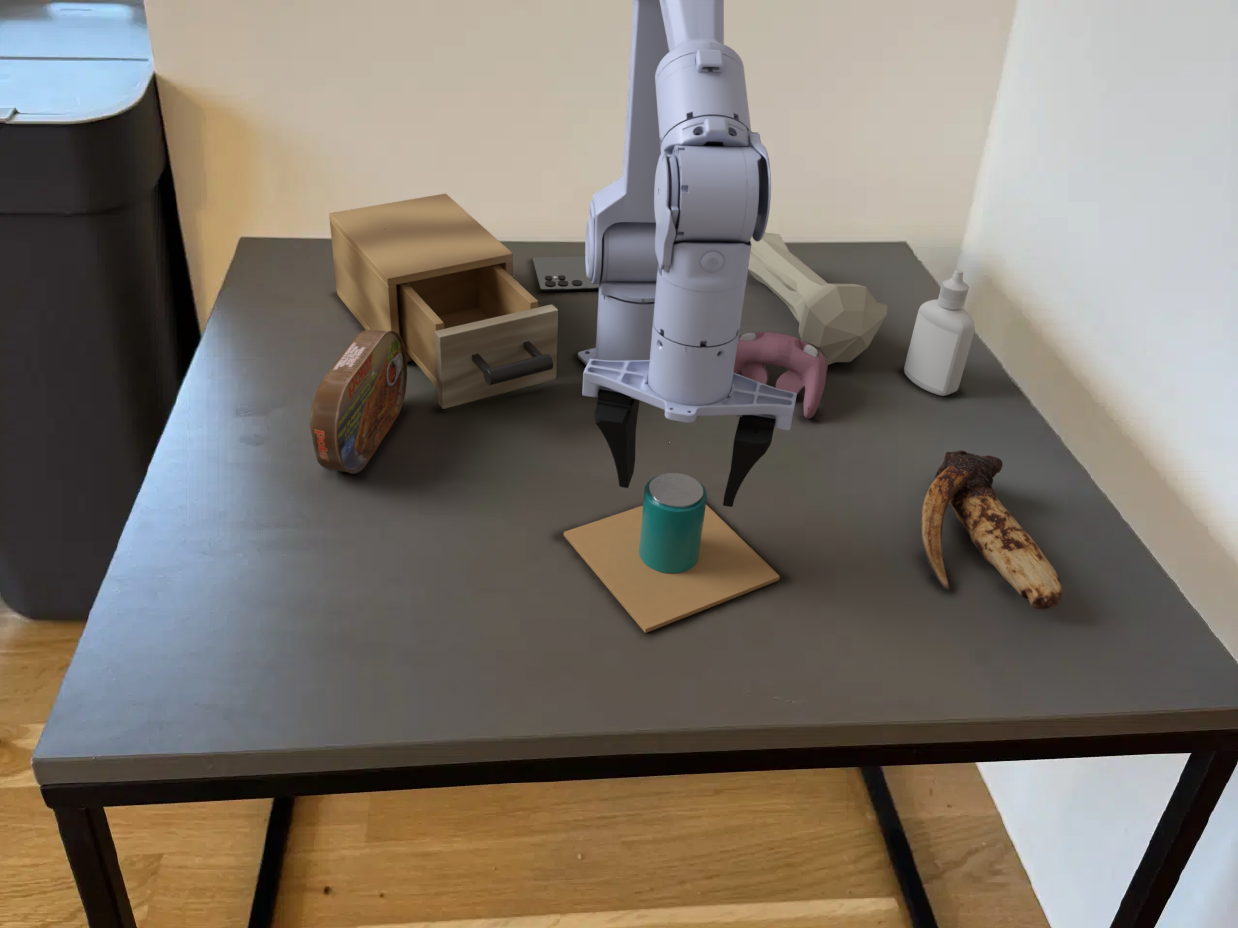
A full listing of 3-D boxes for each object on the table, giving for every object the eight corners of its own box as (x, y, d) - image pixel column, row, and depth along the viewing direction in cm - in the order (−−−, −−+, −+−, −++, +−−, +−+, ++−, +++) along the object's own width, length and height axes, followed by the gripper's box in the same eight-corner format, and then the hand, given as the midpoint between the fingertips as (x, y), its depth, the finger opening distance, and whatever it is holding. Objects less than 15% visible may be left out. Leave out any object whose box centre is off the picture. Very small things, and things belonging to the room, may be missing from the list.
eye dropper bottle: (917, 398, 105) (946, 285, 98) (899, 367, 110) (926, 257, 103) (961, 398, 106) (993, 285, 99) (941, 367, 110) (971, 257, 103)
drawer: (578, 401, 100) (581, 331, 95) (462, 433, 95) (460, 360, 90) (488, 311, 112) (487, 245, 108) (381, 334, 107) (376, 266, 103)
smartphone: (686, 284, 121) (541, 287, 118) (686, 289, 121) (540, 291, 118) (671, 253, 127) (532, 255, 124) (670, 258, 127) (532, 259, 124)
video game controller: (819, 417, 104) (836, 344, 103) (814, 421, 100) (832, 345, 99) (718, 394, 107) (734, 322, 105) (709, 397, 102) (726, 322, 101)
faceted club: (802, 377, 105) (705, 271, 125) (874, 388, 109) (769, 284, 129) (839, 293, 101) (732, 198, 121) (912, 307, 105) (797, 212, 124)
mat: (690, 492, 91) (691, 489, 91) (779, 580, 83) (780, 576, 83) (563, 535, 86) (563, 531, 86) (645, 633, 78) (645, 629, 78)
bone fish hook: (873, 487, 94) (964, 633, 80) (882, 441, 92) (977, 584, 77) (975, 477, 96) (1082, 619, 81) (987, 432, 93) (1100, 570, 79)
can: (653, 527, 87) (659, 463, 83) (707, 545, 85) (716, 481, 82) (629, 561, 83) (634, 496, 80) (685, 581, 82) (693, 515, 78)
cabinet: (513, 337, 110) (513, 253, 105) (393, 365, 105) (387, 278, 99) (448, 272, 121) (445, 193, 115) (337, 294, 115) (328, 213, 110)
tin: (347, 494, 89) (337, 406, 84) (310, 487, 89) (298, 400, 84) (412, 396, 101) (407, 314, 96) (380, 391, 101) (373, 309, 96)
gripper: (574, 337, 71) (567, 503, 79) (800, 374, 68) (770, 541, 77) (599, 288, 76) (591, 448, 84) (809, 321, 74) (780, 482, 82)
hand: (677, 488), depth 81 cm, fingers open, 7 cm apart
